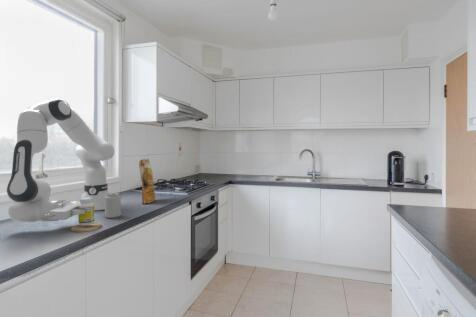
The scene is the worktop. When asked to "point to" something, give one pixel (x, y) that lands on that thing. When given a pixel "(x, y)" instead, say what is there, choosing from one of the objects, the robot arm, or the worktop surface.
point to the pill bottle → (89, 215)
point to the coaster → (86, 227)
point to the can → (112, 205)
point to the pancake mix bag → (147, 181)
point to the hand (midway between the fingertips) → (88, 209)
